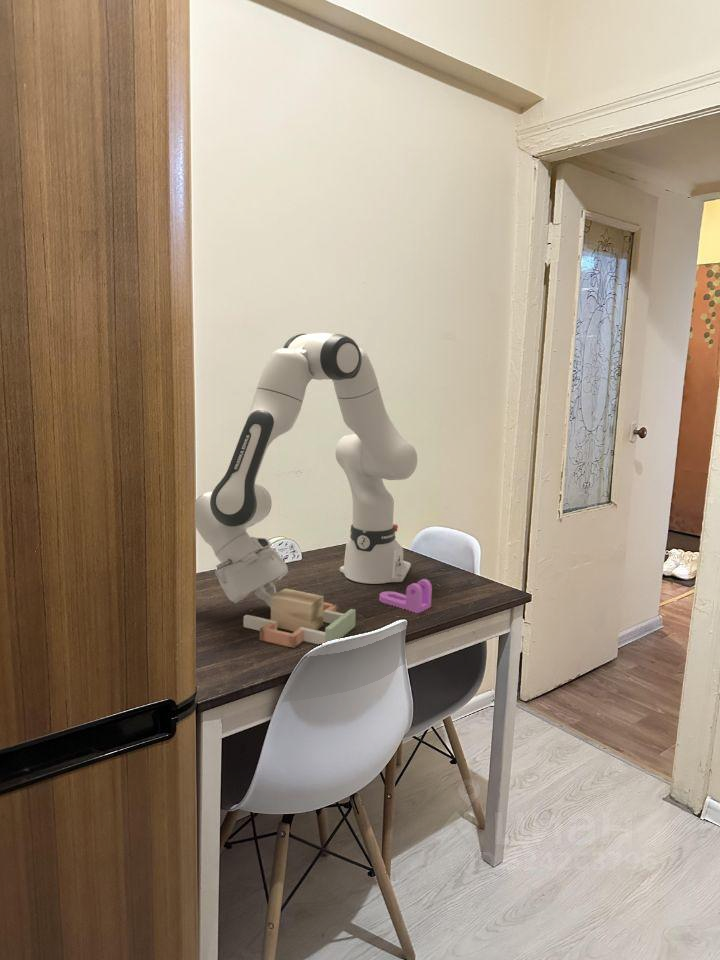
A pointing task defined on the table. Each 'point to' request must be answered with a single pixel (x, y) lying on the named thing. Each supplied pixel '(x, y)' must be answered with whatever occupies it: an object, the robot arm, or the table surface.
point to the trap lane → (336, 629)
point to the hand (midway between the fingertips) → (275, 603)
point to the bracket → (410, 597)
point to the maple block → (297, 610)
